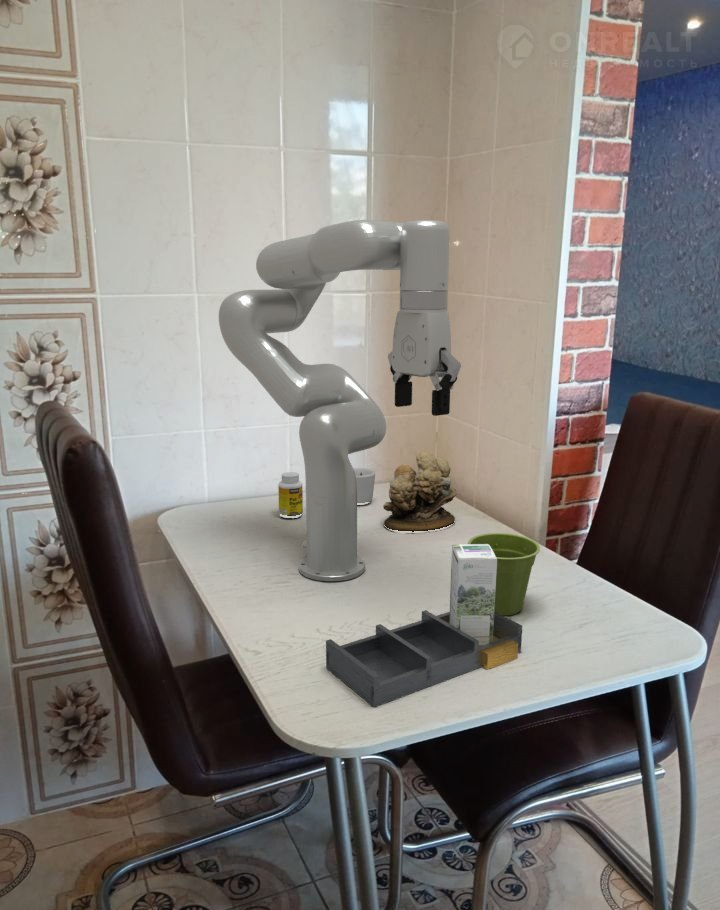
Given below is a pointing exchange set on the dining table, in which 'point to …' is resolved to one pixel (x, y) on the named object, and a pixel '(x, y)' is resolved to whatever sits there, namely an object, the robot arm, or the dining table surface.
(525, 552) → the plant pot
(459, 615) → the syrup box
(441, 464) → the brown lumpy piece
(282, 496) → the supplement bottle
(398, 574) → the dining table surface
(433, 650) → the tray
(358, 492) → the cup
